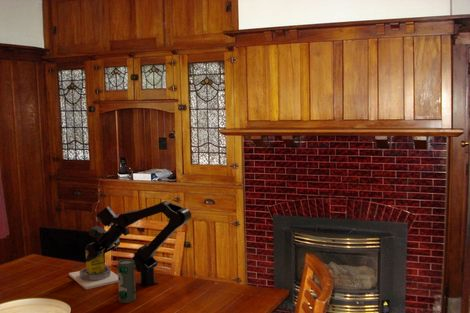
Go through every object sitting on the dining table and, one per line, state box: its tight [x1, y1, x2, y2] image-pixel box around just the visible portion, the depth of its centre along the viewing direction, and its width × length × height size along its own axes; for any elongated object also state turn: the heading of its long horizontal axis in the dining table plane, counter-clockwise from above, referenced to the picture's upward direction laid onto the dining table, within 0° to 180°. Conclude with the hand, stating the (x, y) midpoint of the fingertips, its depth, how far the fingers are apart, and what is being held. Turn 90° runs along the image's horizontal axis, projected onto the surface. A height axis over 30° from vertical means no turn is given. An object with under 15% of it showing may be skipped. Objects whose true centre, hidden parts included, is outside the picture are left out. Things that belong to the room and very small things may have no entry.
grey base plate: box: [68, 270, 118, 290], centre depth 225 cm, size 22×16×1 cm
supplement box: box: [85, 249, 105, 274], centre depth 224 cm, size 6×6×11 cm
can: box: [117, 259, 137, 304], centre depth 199 cm, size 6×6×15 cm
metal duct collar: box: [79, 265, 112, 281], centre depth 225 cm, size 12×12×2 cm
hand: (92, 258), depth 225 cm, fingers closed on supplement box, 8 cm apart
